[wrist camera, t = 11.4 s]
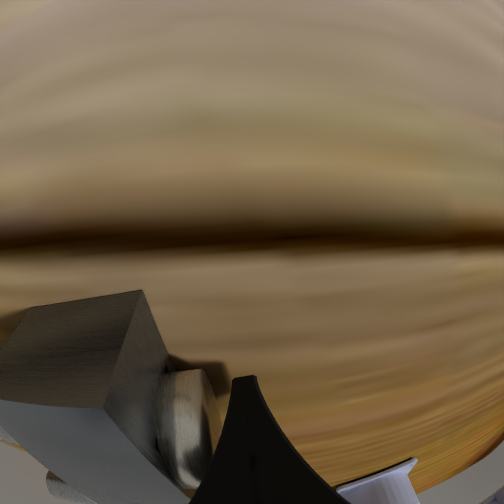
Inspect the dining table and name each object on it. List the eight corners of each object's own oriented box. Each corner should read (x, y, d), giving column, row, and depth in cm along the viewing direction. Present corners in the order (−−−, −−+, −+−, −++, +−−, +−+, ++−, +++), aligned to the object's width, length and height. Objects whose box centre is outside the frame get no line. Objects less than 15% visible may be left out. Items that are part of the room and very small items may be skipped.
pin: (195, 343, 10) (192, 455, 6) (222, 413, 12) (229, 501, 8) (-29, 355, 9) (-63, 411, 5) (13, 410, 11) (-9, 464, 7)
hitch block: (238, 484, 16) (245, 539, 12) (172, 488, 16) (171, 540, 12) (142, 290, 9) (102, 408, 5) (31, 307, 9) (-28, 393, 5)
